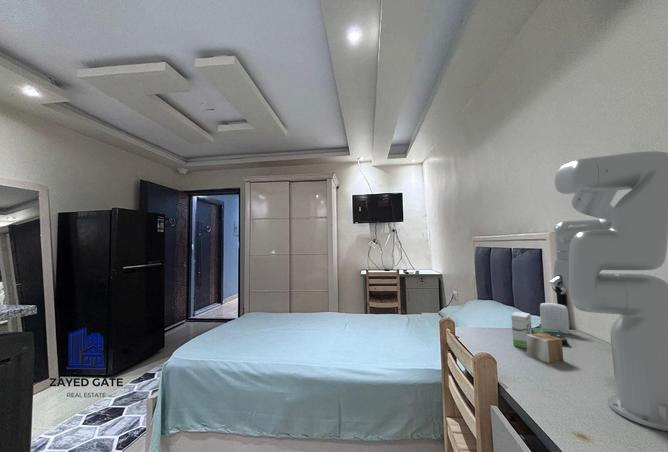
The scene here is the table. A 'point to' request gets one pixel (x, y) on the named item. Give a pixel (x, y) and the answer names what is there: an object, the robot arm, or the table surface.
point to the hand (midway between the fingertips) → (573, 304)
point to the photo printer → (554, 317)
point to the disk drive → (551, 334)
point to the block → (544, 347)
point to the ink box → (521, 328)
